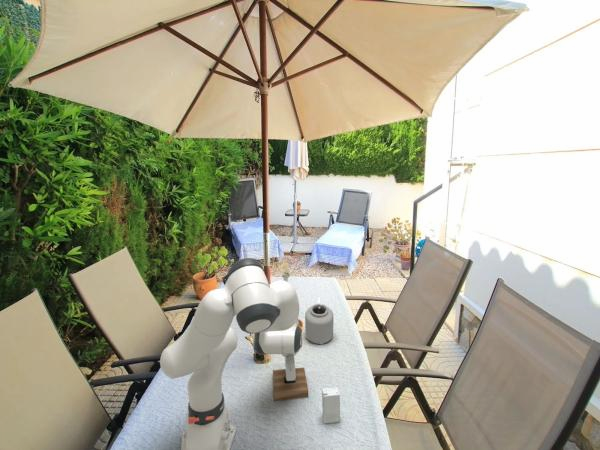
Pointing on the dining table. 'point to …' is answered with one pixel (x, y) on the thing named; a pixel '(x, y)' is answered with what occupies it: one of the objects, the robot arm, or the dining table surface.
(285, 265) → the flower in vase
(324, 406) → the skincare box
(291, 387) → the socket block
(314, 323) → the jar
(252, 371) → the dining table surface
